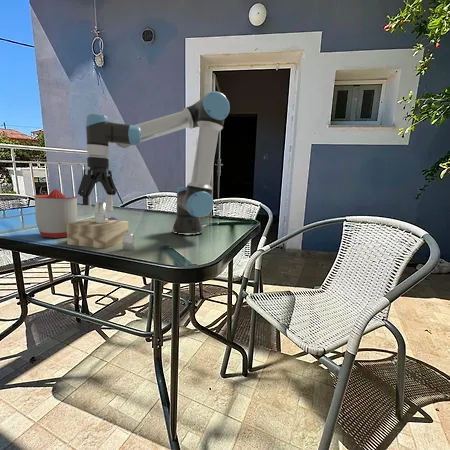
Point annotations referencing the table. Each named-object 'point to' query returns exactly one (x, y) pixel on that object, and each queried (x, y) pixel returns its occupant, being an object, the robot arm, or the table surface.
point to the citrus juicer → (55, 213)
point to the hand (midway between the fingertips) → (99, 212)
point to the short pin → (127, 241)
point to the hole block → (96, 233)
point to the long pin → (100, 212)
